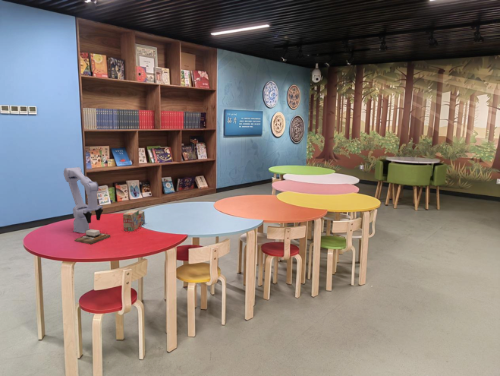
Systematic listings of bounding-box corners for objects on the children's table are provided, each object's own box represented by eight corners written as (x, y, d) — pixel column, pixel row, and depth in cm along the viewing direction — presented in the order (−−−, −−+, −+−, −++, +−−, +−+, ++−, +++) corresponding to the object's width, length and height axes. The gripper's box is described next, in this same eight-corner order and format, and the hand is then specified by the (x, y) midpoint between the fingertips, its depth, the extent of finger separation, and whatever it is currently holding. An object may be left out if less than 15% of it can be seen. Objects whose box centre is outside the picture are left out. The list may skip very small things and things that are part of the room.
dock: (74, 241, 237) (74, 237, 237) (94, 234, 252) (93, 230, 251) (91, 244, 232) (91, 240, 231) (110, 237, 246) (110, 233, 246)
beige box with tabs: (84, 236, 241) (84, 230, 240) (90, 234, 245) (89, 228, 244) (94, 238, 238) (94, 232, 237) (99, 236, 242) (99, 230, 241)
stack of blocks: (137, 222, 280) (136, 206, 278) (145, 223, 280) (144, 207, 277) (123, 231, 260) (122, 213, 257) (132, 231, 259) (131, 214, 256)
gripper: (88, 204, 236) (89, 225, 239) (105, 199, 250) (106, 219, 252) (80, 202, 239) (81, 223, 242) (97, 198, 252) (98, 218, 255)
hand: (93, 221), depth 247 cm, fingers open, 7 cm apart
